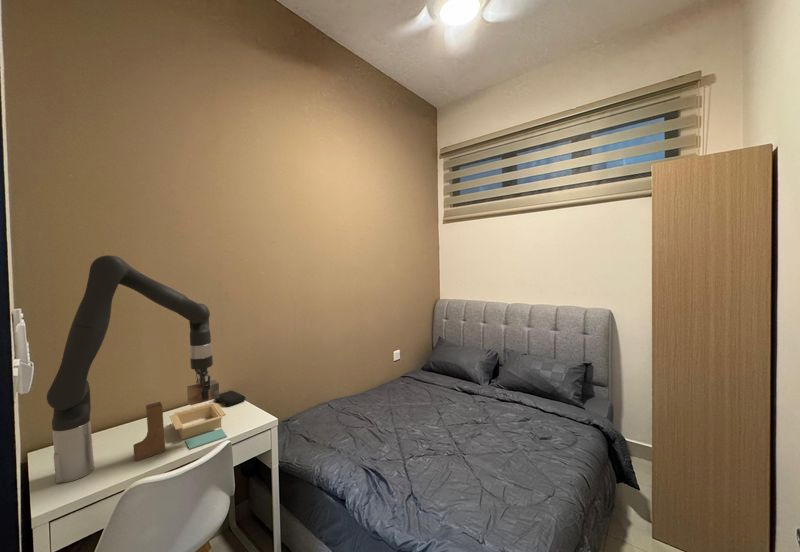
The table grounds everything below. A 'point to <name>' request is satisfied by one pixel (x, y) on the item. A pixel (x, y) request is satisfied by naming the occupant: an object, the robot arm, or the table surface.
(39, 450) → the table surface
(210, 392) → the box
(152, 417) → the wooden block
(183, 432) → the carton
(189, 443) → the mat
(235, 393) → the carrying case or bag
